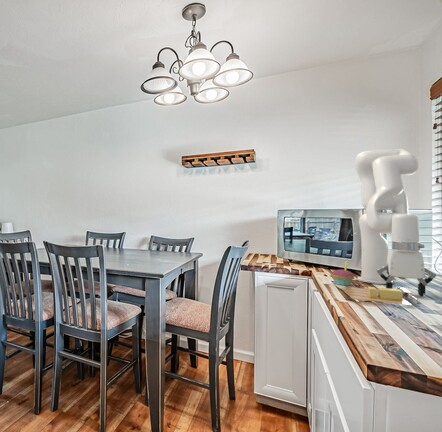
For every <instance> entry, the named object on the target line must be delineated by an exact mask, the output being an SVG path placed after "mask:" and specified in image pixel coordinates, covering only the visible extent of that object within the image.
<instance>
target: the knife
mask: <svg viewBox="0 0 442 432" xmlns="http://www.w3.org/2000/svg"><path fill="white" fill-rule="evenodd" d="M396 289H400V290H401V291H402V292H403V297H405V298H408V299H409V300H411V301H412V302H413V303H415V304H418V303H419V299H418V298H416V297H415V296H413V294H412V292H411V291H409V290H408V289H407V288H405V287H404V286H397V287H396Z"/></svg>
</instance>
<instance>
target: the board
mask: <svg viewBox="0 0 442 432" xmlns="http://www.w3.org/2000/svg"><path fill="white" fill-rule="evenodd" d="M343 288H344V289H345V291H346V293H347V294H348V295H349V296H350V298H351V300H360V301H367V302H368V301H369V302H378V303H388V304H396V305H397V304H398V305H406V306H412V303H410V302H409V301H408V300H407V299H405V298H404V297H403V300H395V299H385V298H380V297H379V296H378V289H377V298H375V297H370V296H369V295H368V288H365V287H355V286H354V287H353V286H343Z"/></svg>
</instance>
